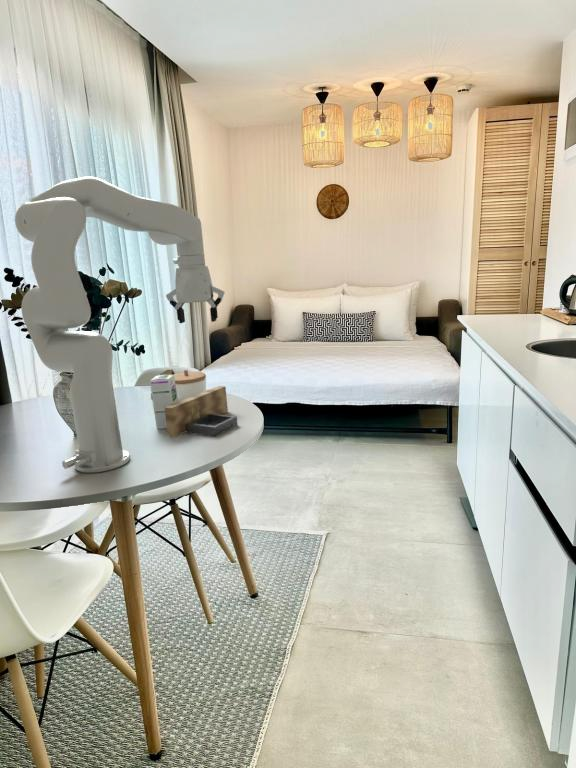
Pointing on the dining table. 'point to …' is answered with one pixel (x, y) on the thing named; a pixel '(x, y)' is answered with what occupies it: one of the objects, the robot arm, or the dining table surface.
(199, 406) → the board
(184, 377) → the lidded bowl
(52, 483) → the dining table surface
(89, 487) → the dining table surface
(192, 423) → the tray
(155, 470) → the dining table surface
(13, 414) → the dining table surface
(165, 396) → the syrup box
